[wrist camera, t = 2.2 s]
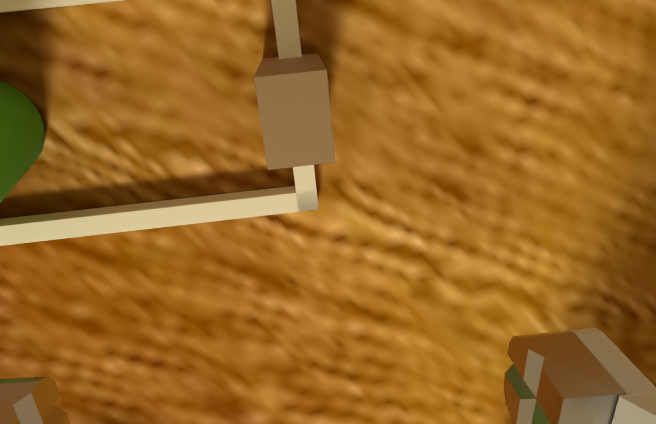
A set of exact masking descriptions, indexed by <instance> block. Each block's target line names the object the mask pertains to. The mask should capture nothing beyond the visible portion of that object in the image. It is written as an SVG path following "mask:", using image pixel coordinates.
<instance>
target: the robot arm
mask: <svg viewBox="0 0 656 424" xmlns="http://www.w3.org/2000/svg"><path fill="white" fill-rule="evenodd" d="M508 355H509V357H510V358H511V360H512V362H513V363H514V364H513V365H512V366H511V367H510V368H509V369H508V371H507V372H506V373H505V379H504V393H505V400H506V405H507V407H508V410H509V413H510V416H511V418H512V420H513V421H514V423H515V424H656V387H655V386H654V385H653V384H652V383H651V382H650V381H649V380H648V379H647V378H646V377H645V376H644V375H643V373H642V372H641V371H640V370H639V369H638V368H637V367H636V366H635V365H634V364H633V363H632V362H631V361H630V360H629V359H628V358H627V357H626V356H625V355H624V354H623V353H622V352H621V351H620V350H619V348H618V347H617V346H616V345H615V344H614V343H613V342H612V341H611V340H610V339H609V338H608V337H607V336H606V335H605V334H604V333H603V332H602V331H601V330H599V329H596V328H585V329H576V330H567V331H563V332H552V333H541V334H530V335H520V336H513V337H512V339H511V341H510V343H509V349H508ZM59 395H60V392H59V390H58V388H57V385H56V383H55V380H54V379H52V378H49V377H30V378H15V379H0V424H70V421H69V418H68V415H67V413H66V412H65V411H63V410H62V409H61V408H59V407H58V406H56V405H55V402H56V400H57V398H58V396H59Z"/></svg>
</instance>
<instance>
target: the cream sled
mask: <svg viewBox="0 0 656 424" xmlns="http://www.w3.org/2000/svg"><path fill="white" fill-rule="evenodd" d="M113 1H123V0H0V13H4V12H14V11H24V10H34V9H43V8H53V7H63V6H73V5H83V4H93V3H103V2H113ZM271 2H272V10H273V18H274V26H275V33H276V41H277V49H278V57H271V58H263V59H262V61H261V63H260V65H259V68H258V70H257V72H256V74H255V76H254V81H255V88H256V94H257V101H258V108H259V114H260V121H261V127H262V134H263V141H264V147H265V154H266V160H267V167H268V170H272V169H281V168H290V167H293V173H294V180H295V186H288V187H279V188H270V189H261V190H252V191H243V192H235V193H226V194H217V195H208V196H199V197H190V198H182V199H173V200H164V201H155V202H146V203H137V204H128V205H120V206H111V207H102V208H93V209H84V210H75V211H66V212H58V213H49V214H40V215H31V216H22V217H13V218H4V219H0V246H2V245H11V244H20V243H29V242H37V241H46V240H55V239H63V238H72V237H81V236H90V235H98V234H107V233H116V232H125V231H133V230H142V229H151V228H160V227H168V226H177V225H186V224H194V223H203V222H212V221H221V220H229V219H238V218H247V217H256V216H264V215H273V214H282V213H291V212H299V211H308V210H317V209H319V208H318V199H317V189H316V180H315V171H314V165H317V164H326V163H335V154H334V143H333V132H332V121H331V110H330V99H329V88H328V77H327V69H326V67H325V65H324V63H323V61H322V60H321V58H320V56H319V54H318V53H309V54H301V45H300V35H299V26H298V17H297V8H296V0H271Z"/></svg>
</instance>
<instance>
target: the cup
mask: <svg viewBox="0 0 656 424" xmlns="http://www.w3.org/2000/svg"><path fill="white" fill-rule="evenodd" d="M44 140H45V137H44V125H43V122H42V118H41V115H40V114H39V112H38V110H37V109H36V107H35V105H34V104H33V103H32V102H31V101H30V100H29V98H28V97H27V96H25V95H24V94H23V93H22V92H20V91H19V90H18V89H16V88H14V87H13V86H11V85H9V84H7V83H5V82H3V81H0V203H1V202H2V200H3V199H4V198H5V197H6V196H7V194H8V193H9V192H10V191H11V190H12V188H13V187H14V186H15V185H16V184H17V182H18V181H19V180H20V179H21V178H22V176H23V175H24V174H25V173H26V172H27V171H28V169H29V168H30V167H31V166H32V165H33V163H34V162H35V161H36V160H37V158H38V157H39V155H40V153H41V151H42V149H43V145H44Z"/></svg>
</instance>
